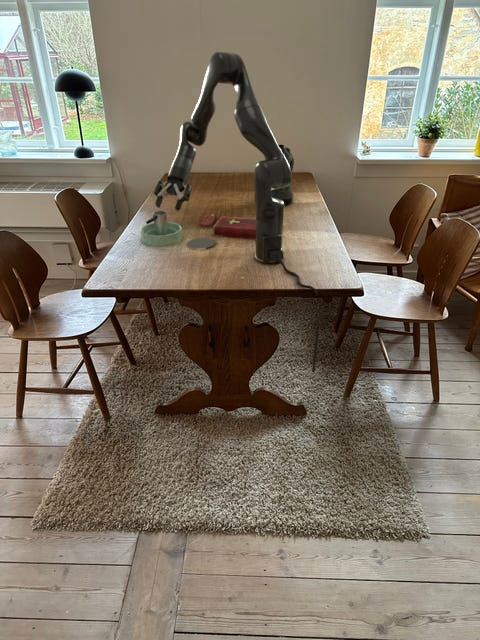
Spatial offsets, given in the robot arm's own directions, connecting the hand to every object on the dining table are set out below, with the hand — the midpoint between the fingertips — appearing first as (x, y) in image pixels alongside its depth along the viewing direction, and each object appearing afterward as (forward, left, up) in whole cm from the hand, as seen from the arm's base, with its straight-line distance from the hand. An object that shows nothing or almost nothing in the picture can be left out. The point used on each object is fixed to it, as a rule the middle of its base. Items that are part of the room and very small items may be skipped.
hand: (167, 208), depth 173 cm
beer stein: (+34, -54, -11) cm, 64 cm away
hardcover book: (-4, -29, -11) cm, 31 cm away
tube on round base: (-7, +5, -10) cm, 13 cm away
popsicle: (+12, -18, -11) cm, 24 cm away
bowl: (-4, +3, -11) cm, 12 cm away
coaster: (-12, -11, -11) cm, 20 cm away
